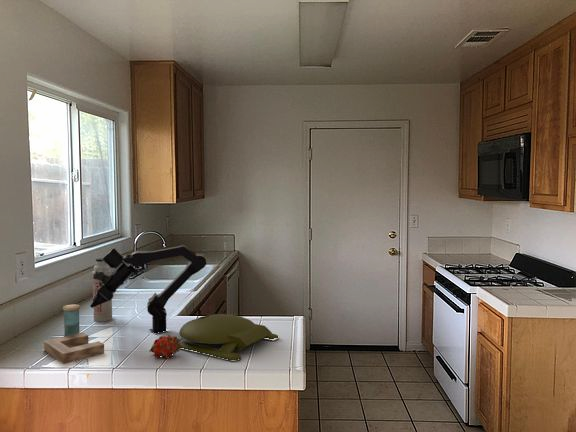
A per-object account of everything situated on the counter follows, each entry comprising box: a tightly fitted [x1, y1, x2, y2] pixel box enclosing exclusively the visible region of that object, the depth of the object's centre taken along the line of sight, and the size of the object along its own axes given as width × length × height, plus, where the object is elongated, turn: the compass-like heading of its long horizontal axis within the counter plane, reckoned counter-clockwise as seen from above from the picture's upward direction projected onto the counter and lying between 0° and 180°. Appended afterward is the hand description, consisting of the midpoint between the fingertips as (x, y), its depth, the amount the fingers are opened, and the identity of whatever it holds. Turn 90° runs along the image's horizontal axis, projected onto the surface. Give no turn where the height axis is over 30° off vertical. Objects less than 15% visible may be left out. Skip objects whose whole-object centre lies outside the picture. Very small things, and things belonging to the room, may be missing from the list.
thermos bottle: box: [91, 257, 113, 323], centre depth 225 cm, size 8×8×28 cm
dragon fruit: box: [149, 334, 181, 359], centre depth 179 cm, size 8×8×12 cm
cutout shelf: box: [43, 332, 105, 364], centre depth 183 cm, size 15×19×4 cm
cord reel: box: [62, 303, 81, 337], centre depth 198 cm, size 6×6×13 cm
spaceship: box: [179, 313, 279, 361], centre depth 195 cm, size 35×31×10 cm
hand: (92, 304), depth 200 cm, fingers open, 9 cm apart
